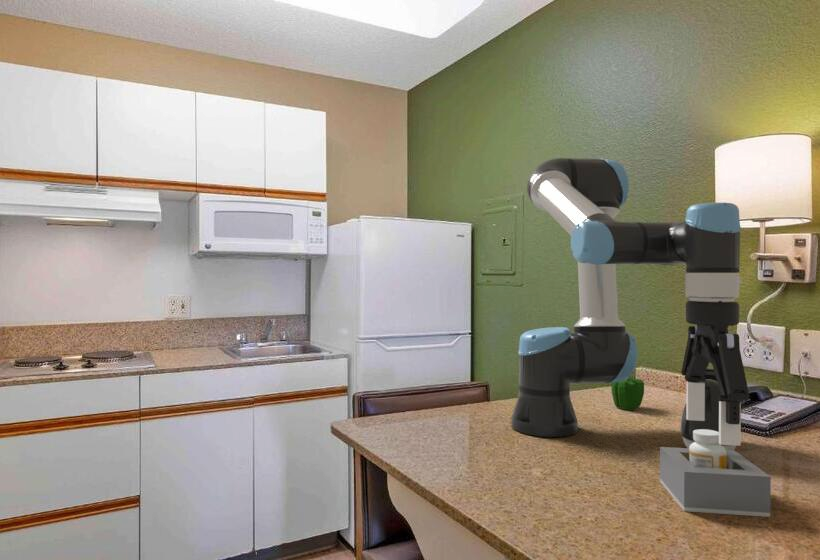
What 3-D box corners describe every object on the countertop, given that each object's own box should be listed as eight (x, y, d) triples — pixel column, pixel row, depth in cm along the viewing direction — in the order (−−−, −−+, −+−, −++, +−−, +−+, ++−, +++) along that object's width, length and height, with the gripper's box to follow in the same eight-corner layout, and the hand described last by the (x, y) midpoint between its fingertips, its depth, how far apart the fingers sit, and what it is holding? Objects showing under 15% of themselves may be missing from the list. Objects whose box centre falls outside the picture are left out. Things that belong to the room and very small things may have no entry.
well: (684, 511, 81) (684, 471, 81) (659, 481, 93) (660, 446, 93) (770, 516, 79) (770, 476, 79) (734, 485, 91) (734, 450, 91)
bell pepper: (615, 403, 150) (615, 367, 150) (646, 407, 145) (646, 370, 145) (606, 409, 143) (607, 372, 143) (639, 413, 138) (639, 375, 138)
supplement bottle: (700, 497, 84) (697, 436, 84) (684, 486, 89) (681, 428, 90) (735, 497, 84) (732, 436, 84) (717, 485, 89) (714, 427, 89)
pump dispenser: (739, 468, 99) (740, 386, 99) (677, 457, 105) (678, 380, 105) (740, 452, 108) (740, 378, 108) (682, 444, 113) (683, 372, 113)
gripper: (778, 304, 73) (777, 458, 73) (706, 297, 97) (705, 412, 98) (719, 303, 74) (718, 455, 74) (663, 296, 99) (662, 410, 99)
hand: (711, 431), depth 86 cm, fingers open, 13 cm apart
